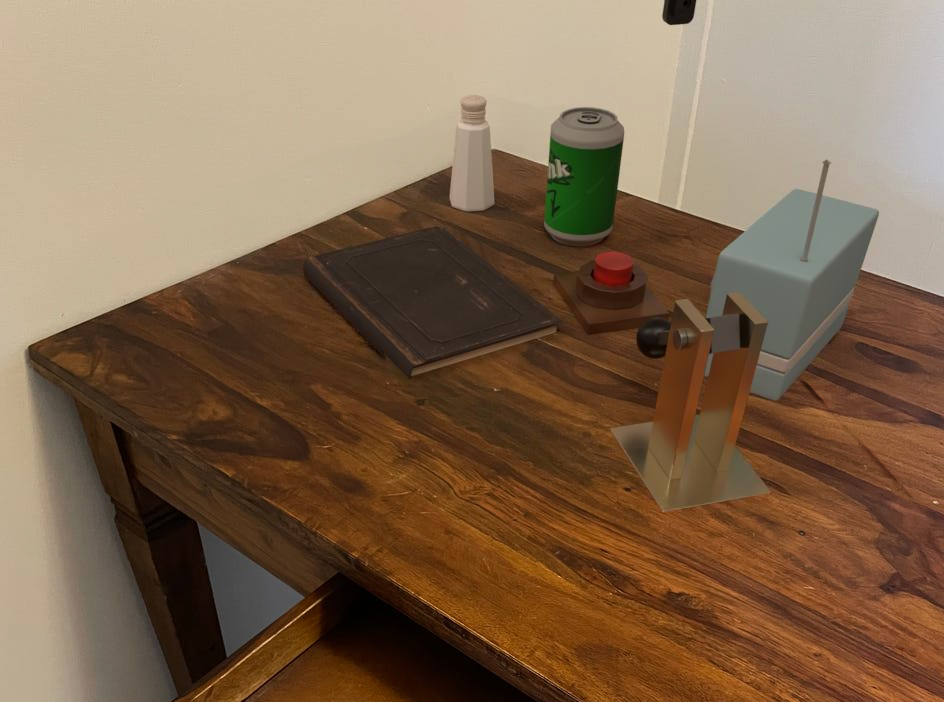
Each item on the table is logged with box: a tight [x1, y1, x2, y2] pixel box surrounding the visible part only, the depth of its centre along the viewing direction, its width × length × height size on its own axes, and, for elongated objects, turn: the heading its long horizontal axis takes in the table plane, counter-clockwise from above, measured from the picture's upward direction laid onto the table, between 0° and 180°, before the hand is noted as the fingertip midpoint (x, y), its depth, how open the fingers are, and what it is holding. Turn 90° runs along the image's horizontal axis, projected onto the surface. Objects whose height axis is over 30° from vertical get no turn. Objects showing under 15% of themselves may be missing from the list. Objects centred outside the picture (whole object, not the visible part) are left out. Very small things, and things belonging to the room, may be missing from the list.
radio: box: [704, 159, 880, 402], centre depth 80 cm, size 16×9×20 cm, turn 145°
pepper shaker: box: [448, 94, 496, 213], centre depth 106 cm, size 5×5×11 cm
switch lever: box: [635, 314, 740, 360], centre depth 72 cm, size 13×3×3 cm
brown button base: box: [552, 259, 670, 336], centre depth 91 cm, size 10×8×4 cm
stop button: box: [593, 251, 634, 286], centre depth 89 cm, size 4×4×2 cm
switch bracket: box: [609, 292, 772, 513], centre depth 71 cm, size 11×9×14 cm
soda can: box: [543, 106, 625, 247], centre depth 100 cm, size 8×8×12 cm
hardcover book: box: [302, 224, 563, 380], centre depth 92 cm, size 16×23×2 cm
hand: (653, 7), depth 72 cm, fingers open, 8 cm apart
